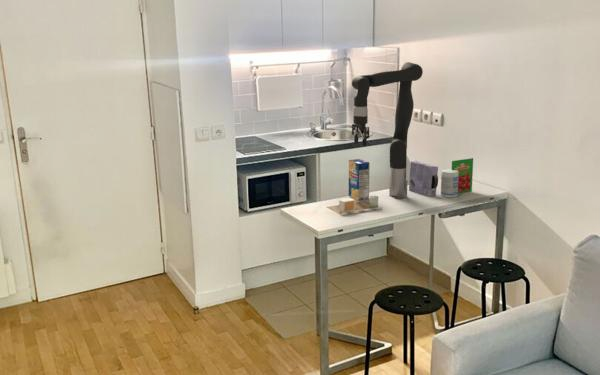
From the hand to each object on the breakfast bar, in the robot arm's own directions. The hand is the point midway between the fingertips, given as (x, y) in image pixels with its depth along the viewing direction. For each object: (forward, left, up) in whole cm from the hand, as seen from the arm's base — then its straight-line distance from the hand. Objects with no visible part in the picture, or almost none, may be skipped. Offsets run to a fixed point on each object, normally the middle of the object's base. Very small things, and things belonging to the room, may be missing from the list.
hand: (360, 144), depth 349 cm
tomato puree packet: (-62, +10, -33) cm, 71 cm away
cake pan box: (-43, -1, -33) cm, 54 cm away
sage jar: (0, +14, -32) cm, 35 cm away
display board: (+9, +9, -33) cm, 35 cm away
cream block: (+15, +12, -32) cm, 37 cm away
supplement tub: (-52, +11, -33) cm, 63 cm away
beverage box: (-4, -8, -33) cm, 34 cm away
